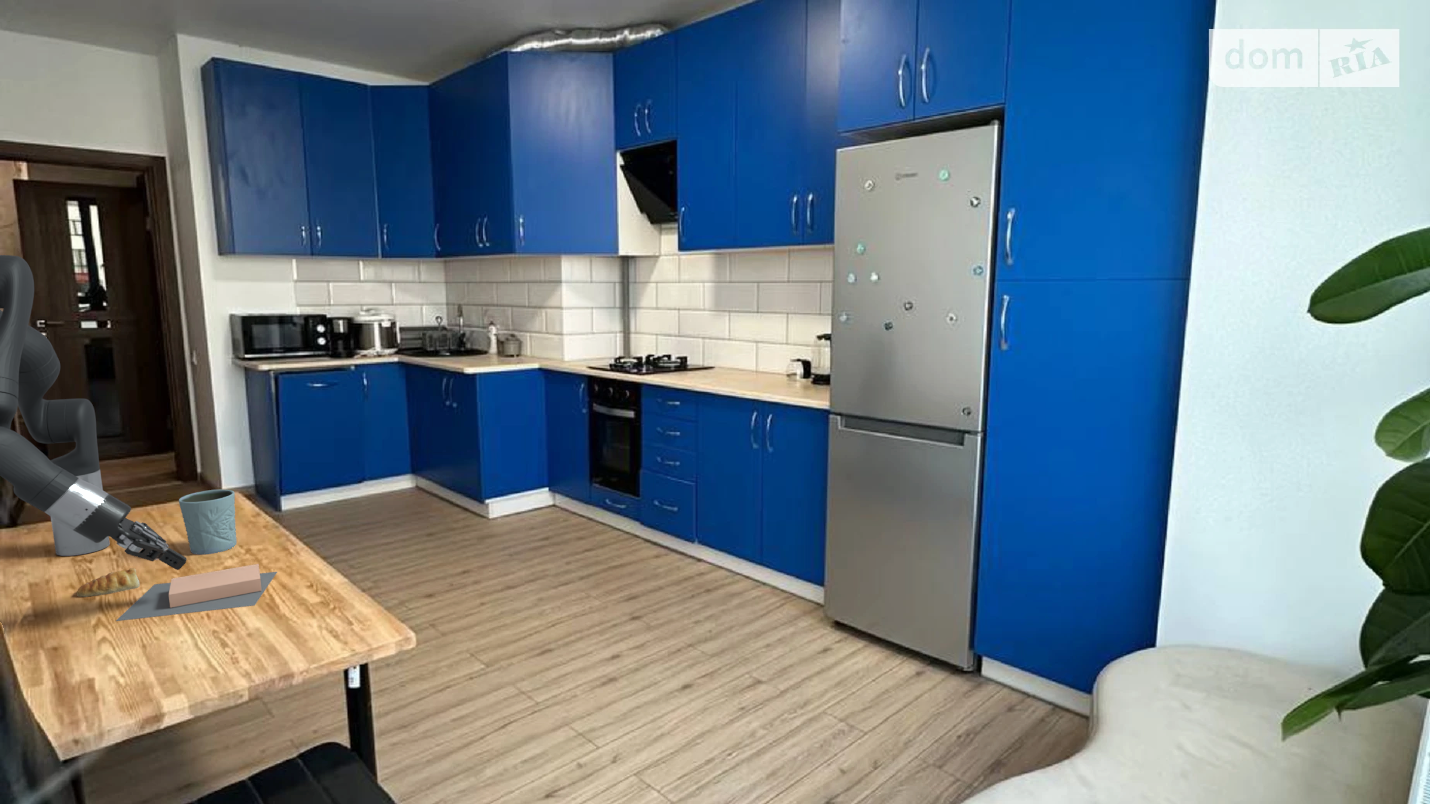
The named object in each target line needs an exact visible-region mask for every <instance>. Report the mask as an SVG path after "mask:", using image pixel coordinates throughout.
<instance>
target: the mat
mask: <svg viewBox="0 0 1430 804" xmlns="http://www.w3.org/2000/svg"><path fill="white" fill-rule="evenodd" d="M277 573H278V571H271V572H262V573H261V572H260V580H261V590H262V591H259V592H253V593H248V594H243V595H237V596H232V597H226V598H221V599H216V600H210V601H205V602H200V603H194V604H189V605H184V606H178V607H172V608H170V602H169V590H170V585H171V582H163V583H155V584H153V585H152V586H151V587H150V588H149V589H148V590H147V591H146V592H145V593H143V594H142V595H141V597H139V598H138V599H137V600H136V601H135V602H134V603H133V604H132V605H131V606H130V607H129V608H127V609H126V611H125V612H123V613H122V614H121V615H120V616H119V617H118V618H117V619H116V620H115V622H121V621H128V620H139V619H145V618H146V619H148V618H156V617H165V616H172V615H173V616H174V615H184V614H190V613H191V614H192V613H200V612H201V613H202V612H208V611H209V612H211V611H218V610H226V609H227V610H228V609H234V608H236V609H237V608H246V607H253V606H256V604H257V603H258V601H259V600H260V599H261V597H262V595H263V594H264V593H265V591H266V589H267V588H268V587H269V585H270V583H271V582H272V580H274V578H275V576H276V575H277Z"/></svg>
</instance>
